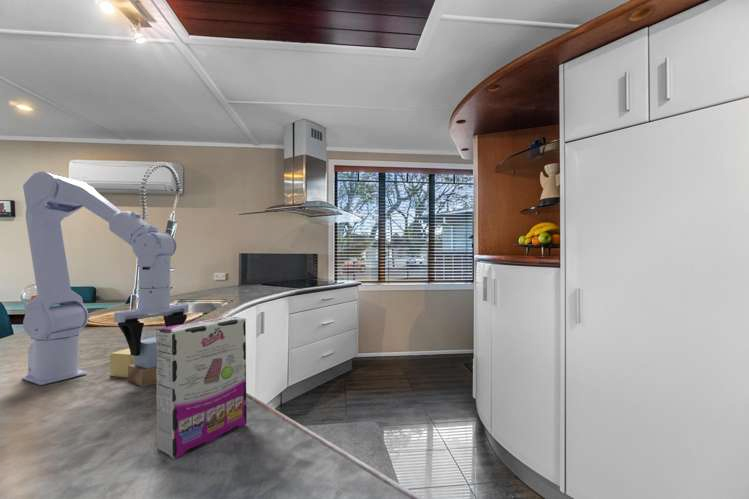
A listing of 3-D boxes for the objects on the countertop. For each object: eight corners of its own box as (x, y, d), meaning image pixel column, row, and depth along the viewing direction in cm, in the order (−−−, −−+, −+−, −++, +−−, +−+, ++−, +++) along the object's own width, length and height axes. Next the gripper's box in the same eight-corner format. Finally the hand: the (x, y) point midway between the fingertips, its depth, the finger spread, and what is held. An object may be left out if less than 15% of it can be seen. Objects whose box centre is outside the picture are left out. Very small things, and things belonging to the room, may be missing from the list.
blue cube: (147, 368, 71) (148, 344, 71) (134, 365, 73) (135, 341, 73) (171, 362, 75) (172, 339, 75) (158, 359, 78) (159, 336, 78)
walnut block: (127, 381, 73) (128, 365, 73) (163, 372, 79) (163, 357, 79) (142, 388, 69) (142, 371, 69) (178, 378, 75) (178, 362, 75)
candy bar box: (227, 417, 56) (228, 315, 56) (247, 425, 53) (248, 317, 53) (152, 450, 46) (154, 326, 47) (172, 461, 44) (174, 330, 44)
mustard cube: (110, 376, 76) (110, 353, 77) (130, 369, 81) (131, 347, 81) (128, 377, 75) (129, 354, 75) (148, 370, 80) (148, 348, 80)
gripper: (128, 291, 66) (127, 362, 66) (197, 285, 79) (196, 345, 79) (108, 289, 70) (107, 357, 69) (178, 284, 83) (177, 342, 82)
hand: (153, 350), depth 74 cm, fingers open, 7 cm apart
